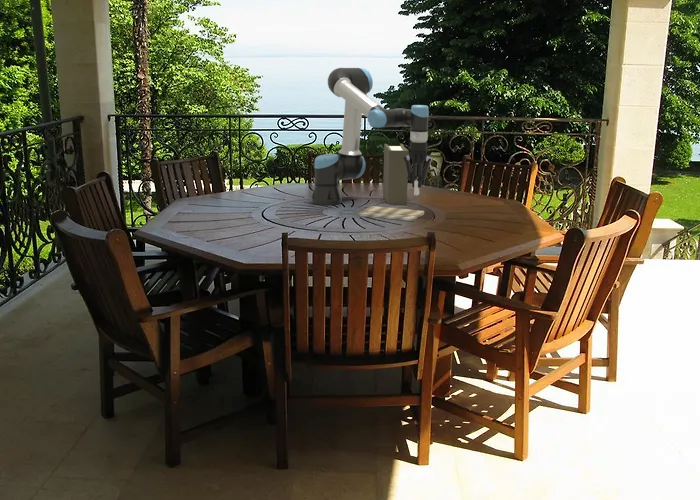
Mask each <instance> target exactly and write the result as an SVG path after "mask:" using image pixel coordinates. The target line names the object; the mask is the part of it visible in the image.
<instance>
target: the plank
mask: <svg viewBox="0 0 700 500" xmlns="http://www.w3.org/2000/svg"><path fill="white" fill-rule="evenodd" d="M362 211H368V212H378V213H388V214H398V215H408V216H417V218H416V219H419V218H421V217H422V216H423V215H425V211H424V210H417V209H408V208H407V209H406V208H397V207H396V208H395V207H386V206H375V205H369V206H368V207H367V208H365V209H363V210H362Z"/></svg>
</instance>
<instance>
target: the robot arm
mask: <svg viewBox="0 0 700 500" xmlns="http://www.w3.org/2000/svg"><path fill="white" fill-rule="evenodd" d="M373 85H374V83H373V78H372V75H371V74H370V71H369V70H367V69H366V68H362V67H361V68H360V67H337V68H335V69H333V70H332V71H331V72H330V73H329V74H328V77H327V86H328V89H329V90H330V92H331V93H332V94H334V95H335V96H336V97H337V98H342V99H343V100H344V112H343V113H344V114H343V115H344V116H343V125H342V126H343V127H342V139H341V140H342V141H341V142H342V143H341V148H340V149H339V150H338V154H336V153H325V154H321V155H317V156H316V157H315V159H314V166H313V167H314V189H313V191H312V195H311V197H310V201H311V202H310V203H311V204H313V205H320V206H335V205H339V204H341V203H342V201H343V200H342V199H343V197H342V195H341V191H340V189H339V181H342V180H343V181H344V180H354V179H358V178H360V177H362V175H364V172H365V170H366V161H365V158H364V156H362V152H361V151H360V142H361V141H360V140H361V131H362V130H361V129H362V128H361V127H362V117H363V116H364V117H366V118H367V123H368V124H369V126H370V127H372V128H379V129H380V128H390V127H394V128H395V127H410V137H409V140H410V141H409V155H408V156H406V157H404V160H405V162H406V167H407V172H408V179H411V181H412V185H411V186H412V188H413V196H419V195H420V189H421V188H422V184H423V183H422V182H423V180H425V179H426V178H427V176H428V172H429V169H430V166H431V163H432V161H433V157H430V156H429V154H428V142H427V141H428V139H429V137H428V135H429V116H430V115H429V114H430V113H429V112H430V111H429V106H428V105H424V104H413V105H411V109H410V108H409V109H407V108H401V107H399V108H391V109H390V108H389V109H388V108H387V109H386V108H384V107H382V106H381V105H380V104H378V103H377V102H376V101H374V100H373V99H372V98H371V97H369V96H368V95H367V94H368V93H370V92H371V90H372V89H373ZM411 161H412V163H411ZM425 161H426V163H425V166H424V162H425ZM411 164H412V165H411ZM423 167H424V168H423Z"/></svg>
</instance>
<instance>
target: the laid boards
mask: <svg viewBox="0 0 700 500" xmlns="http://www.w3.org/2000/svg"><path fill="white" fill-rule="evenodd" d="M356 216H361V217H369V218H379V219H380V218H381V219H389V220H391V219H392V220H399V221H408V222H412V221H414V220H416V219H418V218H417V216H408V215H398V214H388V213H378V212H368V211H363V210H361V211H359V212H357V213H356Z"/></svg>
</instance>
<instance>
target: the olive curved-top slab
mask: <svg viewBox="0 0 700 500" xmlns="http://www.w3.org/2000/svg"><path fill="white" fill-rule="evenodd" d="M383 145H384V146H383V147H384V150H383V152H384V153H383V179H382V180H383V181H382V182H383V187H382V199H383V200H385V203H386V205H391V206H392V205H393V206H404V207H407V206H408V184H409V183H408V179H409V177H408V172H407V167H406V162H405V160H404V157H406V156H408V155H409V152H410V149H407V148H406V147H405V146H404V144H403V143H400V144H399V145H389V144H387V143H384V144H383Z"/></svg>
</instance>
